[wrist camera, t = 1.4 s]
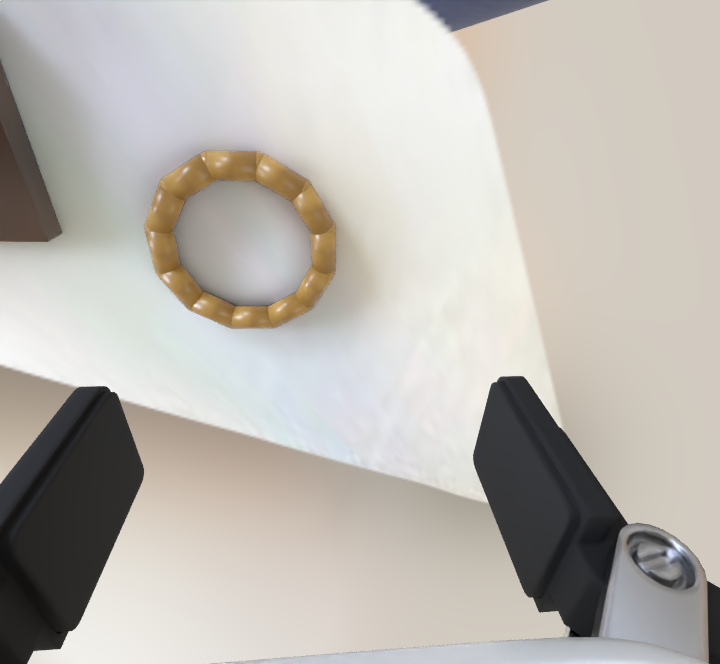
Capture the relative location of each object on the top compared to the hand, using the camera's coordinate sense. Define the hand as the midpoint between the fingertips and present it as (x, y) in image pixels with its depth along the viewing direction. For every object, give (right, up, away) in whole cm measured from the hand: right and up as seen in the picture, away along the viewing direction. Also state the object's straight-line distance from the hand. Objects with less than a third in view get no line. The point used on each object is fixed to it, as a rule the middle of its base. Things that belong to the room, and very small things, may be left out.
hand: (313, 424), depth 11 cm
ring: (-4, +6, +9) cm, 12 cm away
